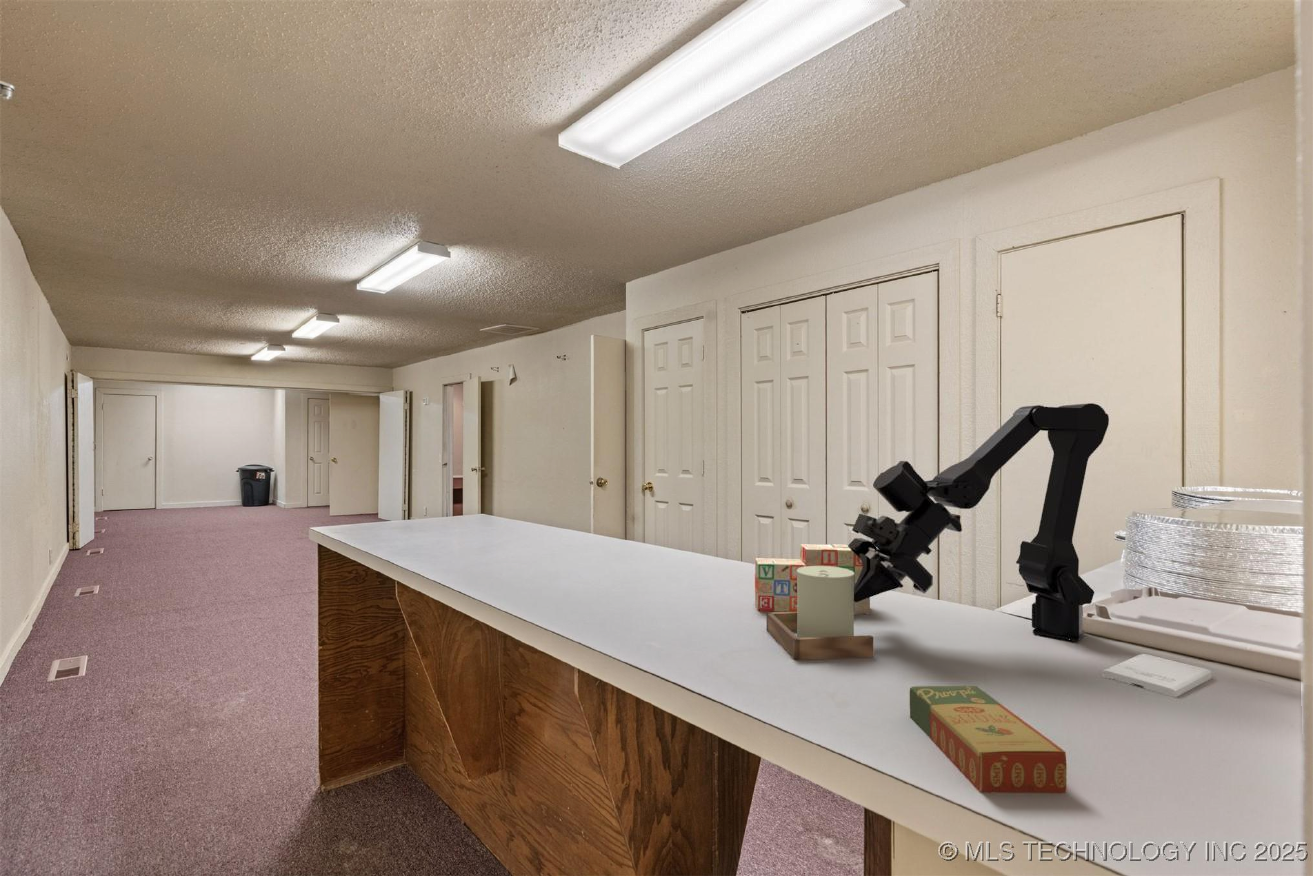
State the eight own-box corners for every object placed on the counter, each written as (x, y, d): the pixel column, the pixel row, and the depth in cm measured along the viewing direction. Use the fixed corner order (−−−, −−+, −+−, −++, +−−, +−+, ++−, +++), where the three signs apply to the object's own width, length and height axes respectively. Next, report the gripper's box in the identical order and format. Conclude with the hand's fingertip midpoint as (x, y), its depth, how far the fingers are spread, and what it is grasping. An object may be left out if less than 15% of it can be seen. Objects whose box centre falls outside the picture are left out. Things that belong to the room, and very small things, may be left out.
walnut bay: (834, 627, 106) (834, 610, 106) (873, 656, 92) (873, 637, 92) (766, 630, 105) (766, 612, 105) (794, 659, 90) (794, 639, 90)
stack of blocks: (757, 612, 117) (757, 548, 117) (754, 603, 123) (754, 542, 123) (870, 614, 115) (870, 549, 115) (862, 606, 121) (862, 544, 121)
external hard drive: (1212, 682, 84) (1175, 701, 77) (1140, 663, 91) (1101, 680, 84) (1212, 670, 84) (1175, 688, 77) (1140, 652, 91) (1102, 668, 84)
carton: (978, 797, 56) (977, 750, 56) (907, 719, 72) (906, 682, 72) (1069, 796, 56) (1068, 750, 56) (977, 718, 72) (977, 682, 72)
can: (792, 647, 96) (792, 571, 96) (799, 630, 104) (799, 561, 104) (853, 654, 93) (853, 576, 93) (855, 636, 101) (855, 565, 101)
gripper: (858, 492, 109) (799, 555, 108) (913, 502, 90) (842, 578, 89) (900, 536, 110) (841, 598, 108) (963, 554, 91) (893, 630, 90)
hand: (852, 599), depth 99 cm, fingers closed, pressing on can
